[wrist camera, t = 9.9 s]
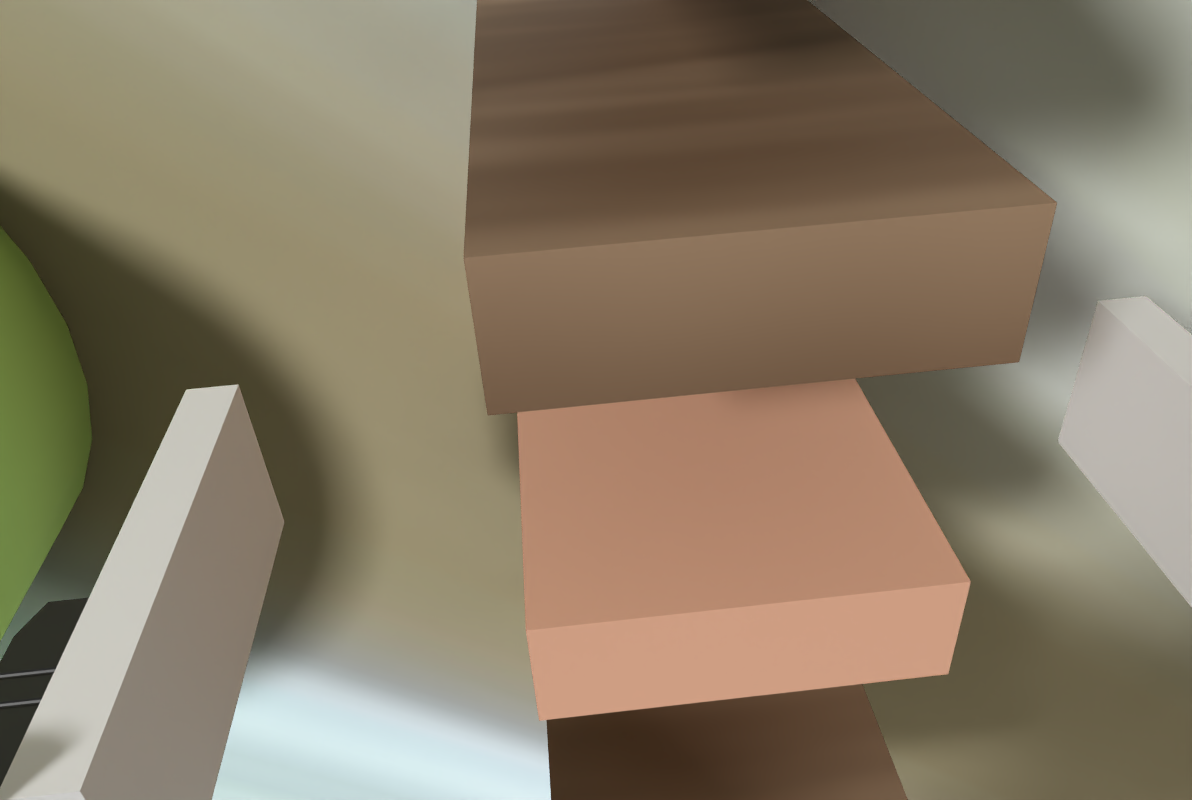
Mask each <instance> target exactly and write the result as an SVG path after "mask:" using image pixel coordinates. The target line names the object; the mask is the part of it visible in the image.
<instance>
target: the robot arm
mask: <svg viewBox="0 0 1192 800" xmlns="http://www.w3.org/2000/svg"><path fill="white" fill-rule="evenodd" d="M1058 443H1059V444H1060V445H1061V446H1062V448H1063V449H1064V450H1065V451H1066V453H1067V454H1068V455H1069V456H1070V458H1071V459H1072V460H1073V461H1074V463H1075V464H1076V465H1077V466H1078V467H1079V469H1080V470H1081V471H1082V472H1083V474H1084V475H1085V476H1086V477H1087V479H1088V480H1089V481H1090V482H1091V484H1092V485H1093V486H1094V487H1095V488H1096V490H1097V491H1098V492H1099V493H1100V495H1101V496H1102V497H1103V498H1104V500H1105V501H1106V502H1107V503H1108V505H1109V506H1110V507H1111V508H1112V510H1113V511H1114V512H1115V513H1116V514H1117V516H1118V517H1119V518H1120V519H1121V521H1122V522H1123V523H1124V524H1125V526H1126V527H1127V528H1128V529H1129V531H1130V532H1131V533H1132V534H1133V536H1134V537H1135V538H1136V539H1137V540H1138V542H1139V543H1140V544H1141V545H1142V547H1143V548H1144V549H1145V550H1146V552H1147V553H1148V554H1149V555H1150V557H1151V558H1152V559H1153V560H1154V562H1155V563H1156V564H1157V565H1158V566H1159V568H1160V569H1161V570H1162V571H1163V573H1164V574H1165V575H1166V576H1167V578H1168V579H1169V580H1170V581H1171V583H1172V584H1173V585H1174V586H1175V587H1176V589H1177V590H1178V591H1179V592H1180V594H1181V595H1182V596H1183V597H1184V599H1185V600H1186V601H1187V602H1188V604H1189V605H1190V606H1191V607H1192V334H1190V333H1189V332H1188V331H1187V330H1186V329H1185V328H1183V327H1182V326H1181V325H1180V324H1179V323H1177V322H1176V321H1175V320H1174V319H1173V318H1172V317H1170V316H1169V315H1168V314H1167V313H1166V312H1164V311H1163V310H1162V309H1161V308H1160V307H1159V306H1157V305H1156V304H1155V303H1154V302H1153V301H1152V300H1150V299H1149V298H1148V297H1147V296H1139V297H1129V298H1119V299H1108V300H1098V302H1097V305H1096V309H1095V312H1094V316H1093V319H1092V323H1091V326H1090V330H1089V333H1088V337H1087V340H1086V344H1085V347H1084V351H1083V354H1082V358H1081V361H1080V365H1079V368H1078V372H1077V375H1076V379H1075V382H1074V386H1073V389H1072V393H1071V396H1070V400H1069V403H1068V407H1067V410H1066V414H1065V417H1064V421H1063V424H1062V428H1061V431H1060V435H1059V438H1058ZM283 526H284V519H283V516H282V513H281V510H280V507H279V504H278V501H277V498H276V495H275V492H274V489H273V486H272V483H271V480H270V477H269V474H268V471H267V468H266V465H265V462H264V459H263V456H262V453H261V450H260V447H259V444H258V441H257V438H256V435H255V432H254V429H253V426H252V423H251V420H250V417H249V414H248V411H247V408H246V405H245V402H244V399H243V396H242V393H241V390H240V387H239V384H238V385H227V386H217V387H207V388H197V389H186V391H185V393H184V395H183V398H182V400H181V402H180V404H179V406H178V408H177V410H176V413H175V415H174V417H173V419H172V421H171V423H170V425H169V428H168V430H167V432H166V434H165V436H164V438H163V440H162V443H161V445H160V447H159V449H158V451H157V453H156V455H155V457H154V460H153V462H152V464H151V466H150V468H149V470H148V472H147V475H146V477H145V479H144V481H143V483H142V485H141V487H140V490H139V492H138V494H137V496H136V498H135V500H134V502H133V505H132V507H131V509H130V511H129V513H128V515H127V517H126V520H125V522H124V524H123V526H122V528H121V530H120V532H119V535H118V537H117V539H116V541H115V543H114V545H113V547H112V549H111V552H110V554H109V556H108V558H107V560H106V562H105V564H104V567H103V569H102V571H101V573H100V575H99V577H98V579H97V582H96V584H95V586H94V588H93V590H92V592H91V594H90V597H89V598H83V599H74V600H64V601H55V602H48V603H47V604H46V605H45V606H44V607H43V608H42V609H41V610H40V611H39V612H38V613H37V614H36V615H35V616H34V617H33V618H32V619H31V620H30V621H29V622H28V623H27V624H26V625H25V626H24V627H23V628H22V629H21V630H20V631H19V632H18V633H17V634H16V635H15V636H14V637H13V639H12V641H11V643H10V645H9V647H8V649H7V651H6V652H5V654H4V656H3V658H2V660H1V662H0V800H212V796H213V792H214V788H215V784H216V781H217V777H218V773H219V769H220V765H221V762H222V758H223V754H224V750H225V746H226V743H227V739H228V735H229V731H230V727H231V724H232V720H233V716H234V712H235V708H236V705H237V701H238V697H239V693H240V689H241V686H242V682H243V678H244V674H245V670H246V667H247V663H248V659H249V655H250V651H251V647H252V644H253V640H254V636H255V632H256V628H257V625H258V621H259V617H260V613H261V609H262V606H263V602H264V598H265V594H266V590H267V587H268V583H269V579H270V575H271V571H272V568H273V564H274V560H275V556H276V552H277V549H278V545H279V541H280V537H281V533H282V529H283Z"/></svg>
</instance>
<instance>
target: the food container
mask: <svg viewBox="0 0 1192 800" xmlns="http://www.w3.org/2000/svg"><path fill="white" fill-rule="evenodd" d="M91 443H92V431H91V420H90V409H89V397H88V386H87V382H86V379H85V376H84V373H83V370H82V367H81V364H80V362H79V359H78V356H77V353H76V350H75V347H74V344H73V341H72V338H71V335H70V332H69V329H68V326H67V324H66V322H65V320H64V319H63V317H62V315H61V314H60V312H59V310H58V308H57V307H56V305H55V303H54V302H53V300H52V298H51V296H50V295H49V293H48V291H47V290H46V288H45V286H44V284H43V283H42V281H41V279H40V278H39V276H38V274H37V272H36V271H35V269H34V267H33V266H32V264H31V262H30V261H29V260H28V258H27V257H26V256H25V255H24V254H23V252H22V251H21V250H20V249H19V248H18V246H17V245H16V244H15V243H14V242H13V240H12V239H11V238H10V237H9V236H8V234H7V233H6V232H5V231H4V230H3V228H2V227H1V226H0V641H1V639H2V637H3V635H4V633H5V632H6V630H7V628H8V626H9V624H10V622H11V621H12V619H13V617H14V615H15V613H16V611H17V610H18V608H19V606H20V604H21V602H22V600H23V599H24V597H25V595H26V593H27V591H28V589H29V587H30V586H31V584H32V582H33V580H34V578H35V576H36V575H37V573H38V571H39V569H40V567H41V565H42V564H43V562H44V560H45V558H46V556H47V554H48V553H49V551H50V549H51V547H52V545H53V543H54V541H55V540H56V538H57V536H58V534H59V532H60V530H61V529H62V527H63V525H64V523H65V521H66V519H67V517H68V515H69V513H70V511H71V509H72V508H73V506H74V504H75V502H76V500H77V498H78V496H79V494H80V492H81V490H82V488H83V485H84V480H85V474H86V469H87V464H88V459H89V453H90V448H91Z"/></svg>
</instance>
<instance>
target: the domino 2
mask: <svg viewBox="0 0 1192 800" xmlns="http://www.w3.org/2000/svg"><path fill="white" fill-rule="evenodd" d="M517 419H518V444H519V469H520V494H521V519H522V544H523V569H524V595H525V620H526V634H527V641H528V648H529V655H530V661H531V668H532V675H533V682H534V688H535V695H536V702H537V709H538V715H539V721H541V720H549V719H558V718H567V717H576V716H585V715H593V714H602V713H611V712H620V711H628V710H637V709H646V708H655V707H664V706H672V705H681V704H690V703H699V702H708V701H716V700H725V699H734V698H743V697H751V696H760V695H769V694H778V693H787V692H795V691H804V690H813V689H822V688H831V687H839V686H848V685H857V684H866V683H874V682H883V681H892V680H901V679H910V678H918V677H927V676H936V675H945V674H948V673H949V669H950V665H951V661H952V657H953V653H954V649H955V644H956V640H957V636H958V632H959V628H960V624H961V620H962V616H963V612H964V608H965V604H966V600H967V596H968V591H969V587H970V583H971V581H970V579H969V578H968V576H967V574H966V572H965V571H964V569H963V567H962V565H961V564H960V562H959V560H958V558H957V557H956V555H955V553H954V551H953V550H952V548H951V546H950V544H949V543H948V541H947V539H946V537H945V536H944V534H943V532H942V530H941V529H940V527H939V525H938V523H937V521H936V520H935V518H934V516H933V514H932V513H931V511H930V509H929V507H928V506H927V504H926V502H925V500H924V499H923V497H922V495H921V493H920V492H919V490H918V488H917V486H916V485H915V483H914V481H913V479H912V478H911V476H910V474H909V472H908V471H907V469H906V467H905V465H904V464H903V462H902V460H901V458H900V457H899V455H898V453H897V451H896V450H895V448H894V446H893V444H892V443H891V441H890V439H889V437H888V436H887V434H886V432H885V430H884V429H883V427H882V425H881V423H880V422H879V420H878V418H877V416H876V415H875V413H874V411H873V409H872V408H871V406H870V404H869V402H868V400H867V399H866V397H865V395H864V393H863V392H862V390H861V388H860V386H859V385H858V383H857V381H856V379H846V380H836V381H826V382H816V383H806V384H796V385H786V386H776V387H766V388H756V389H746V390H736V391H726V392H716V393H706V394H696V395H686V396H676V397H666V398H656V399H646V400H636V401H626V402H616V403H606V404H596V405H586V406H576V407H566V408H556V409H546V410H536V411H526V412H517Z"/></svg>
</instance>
